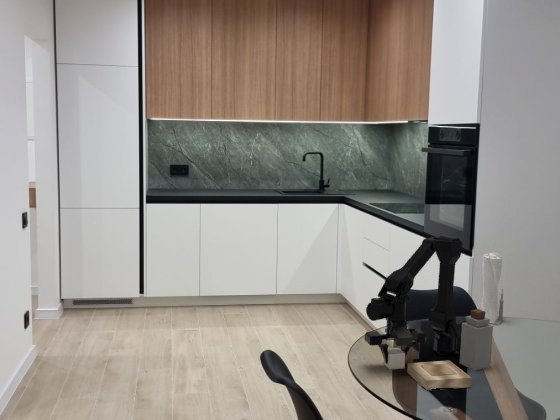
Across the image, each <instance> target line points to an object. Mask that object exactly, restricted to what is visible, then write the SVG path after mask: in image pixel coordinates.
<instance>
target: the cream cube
mask: <svg viewBox="0 0 560 420" xmlns="http://www.w3.org/2000/svg"><path fill="white" fill-rule="evenodd" d="M405 363H406V358H405V353H404V352H403V351H402V350H401V347H392V348H391V347H390V348H389V347H388V363H387V364H386V363H385V361H384V360H383V364H384V365H385V366H386V367H387V369H389V370H399V369H400V370H402V369H405V368H406V367H405V365H406V364H405Z"/></svg>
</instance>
